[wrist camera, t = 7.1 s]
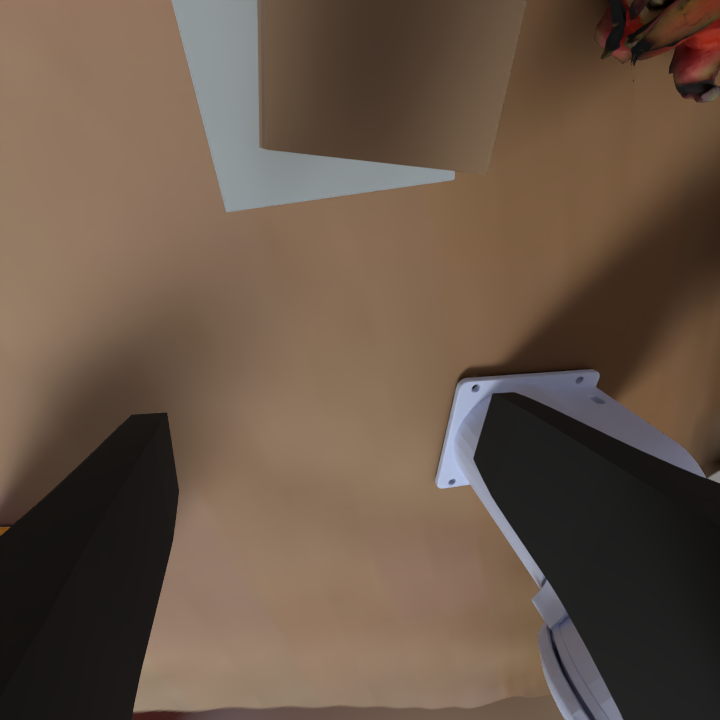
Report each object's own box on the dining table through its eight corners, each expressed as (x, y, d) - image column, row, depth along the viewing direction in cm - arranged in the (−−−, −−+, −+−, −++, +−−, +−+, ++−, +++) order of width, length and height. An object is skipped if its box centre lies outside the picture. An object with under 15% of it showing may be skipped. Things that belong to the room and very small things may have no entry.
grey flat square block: (417, -101, 12) (462, -163, 10) (421, 174, 17) (454, 179, 14) (154, -99, 11) (127, -171, 9) (229, 200, 15) (226, 212, 13)
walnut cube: (438, -32, 11) (560, -140, 7) (409, 164, 13) (487, 174, 9) (256, -81, 10) (265, -253, 5) (259, 147, 12) (267, 150, 8)
